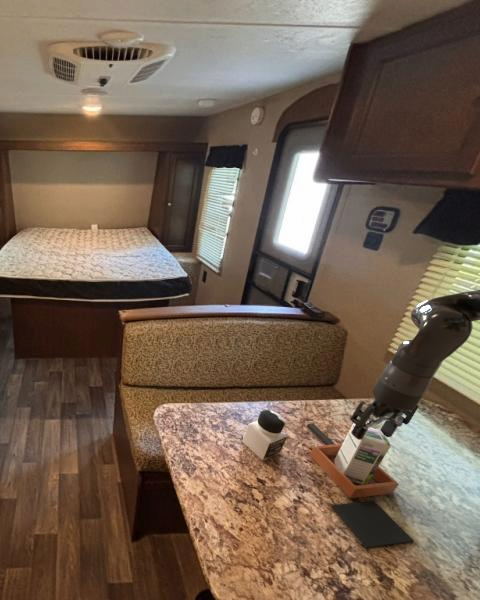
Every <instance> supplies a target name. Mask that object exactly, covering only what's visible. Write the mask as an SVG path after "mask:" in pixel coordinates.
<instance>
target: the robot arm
mask: <svg viewBox="0 0 480 600" xmlns="http://www.w3.org/2000/svg"><path fill="white" fill-rule="evenodd" d="M410 318H411V319H410V320H411V322H412V323H413V324H414V325H415V327H416V328H417V329H418V331H417V333H416V334H415V336H414V337H413V338H412V339H408V340H404V341H402V342H401V343H400V344H399V346H398V347H397V348H396V350H395V353H394V354H393V356H392V358H391V359H390V360H389V362H388V363H387V365H385V367H384V369H383V371H382V372H381V374H380V376H379V378H378V380H377V381H376V383H375V385H374V386H373V389H372V394H373V396H374V399H373V401H372V402H371V403H366V402H365V401H360V402H359V404H357V407H356V408H355V410H354V412H353V413H352V414H351V416H350V418H349V420H350V421H351V422H352V424H353V423H355V424H356V425H355V427H354V428H353V430H352V432H351V433H352V435H353V436H354V437H356V438H357V439H358V440H360V439H362V438H363V437H364V435H365V433H366V432H367V430H368V428H369V427H370V428H372V426H373V425H374V426H375V425H379V424H380V423H382V422H383V421H384V422H383V424H382V426H381V427H380V428H379V429H380V430H381V432H382V433H383V434H384V435H385V437H386V438H391V437H393V435H394V433H395V432H396V431H397V429H398V428H400V427H402V425H403V424H404V425H409V424H410V422H411V420H412V419H413V417H414V415H415V414H416V412H417V410H418V409H419V405H418V404H419V403H420V402H421V400H422V398H423V396H424V395H425V393H426V392H427V390H428V389H429V387H430V385H431V383H432V381H433V378H434V376H435V375H436V374H437V372H438V370H439V369H440V367H441V366H442V364H443V362H444V361H445V360H446V359H448V358H449V357H450V356H451V355H453V354H454V353H455V352H456V351H457V350H458V349H460V348H461V347H462V346H463V345H464V344H466V342H467V341H468V340H469V338H470V336H471V334H472V332H473V326H474V325H473V322H477V321H480V289H478V290H471V291H464V292H459V293H453V294H448V295H442V296H438V297H434V298H431V299H428V300H424V301H423V302H421V303H419V304H418V305H416V306H415V307H414V308H413V309H412V311H411V313H410ZM403 415H405V417H404V416H403ZM372 416H373V417H374V418H373V417H372ZM368 420H369V421H368Z"/></svg>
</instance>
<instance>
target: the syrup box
mask: <svg viewBox="0 0 480 600" xmlns="http://www.w3.org/2000/svg"><path fill="white" fill-rule="evenodd" d="M355 425H356V424H355V423H353V422H352V425H351V427H350V428H349V431H348V432H347V434H346V437H345V439H344V440H343V442H342V443H341V444H342V446H341V448H340V450H339V452H338V454H337V455H335V457H334V459H333V464H334V465H335V466H336V467H337V468H338V469H339V470H340V471H341V472H342V473H343V474H344V475H345V476H346V477H347V478H348V479H349V480H350V481H351V482H352V483H355V484H359V485H368V484H369V483H370V481H371V479H372V478H373V477H372V476H373V474H374V473H375V471H376V469H377V468H378V466H379V467H380V464H381V463H382V461H383V460H384V458H385V457H386V455H387V453H388V452H389V450H390V448H391V444H390V441H389V440H388V439H387V438H388V437H386V436H385V435H384V434H383V433H382V432H381V430H380V429H381V428H373V427H369V428H368V430H367V432H366V433H365V435H364V437H363V438H362V439H360V440H358V439H357V438H356V437H354V436H353V435H352V433H351V432H352V430H353V428H354V427H355Z"/></svg>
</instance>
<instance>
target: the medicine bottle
mask: <svg viewBox="0 0 480 600" xmlns="http://www.w3.org/2000/svg"><path fill="white" fill-rule="evenodd" d="M285 425H286V420H285V419H284V418H283V416H282V415H281V414H279V413H278V412H276V411H273V410H270V409H264V410H261V411H260V413H259V415H258V418H257V420H255V421H252V422H250V423H248V424H247V426H246V430H245V433H244V435H243V438H242V443H243V444H244V445H245V446H246V447H247V448H248V449H249V450H251V451H252V453H254V454H255V455H256V456H257V457H258V458H259V459H260V460H261V461H262V462H263V461H267V460H268V459H271V458H272V457H275V456H277V455H279V454H281V452H282V449H283V447H284V445H285V443H286V441H287V438H288V434H287V433H286V432H285V431H283V430H284V427H285Z"/></svg>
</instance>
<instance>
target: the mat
mask: <svg viewBox="0 0 480 600" xmlns="http://www.w3.org/2000/svg"><path fill="white" fill-rule="evenodd" d="M330 508H331V509H332V510H333V512H335V513H336V514H337V516H338V517H339V518H340V519H341V520H342V522H343V523H344V524H345V525H346V526H347V527H348V529H349V530H350V531H351V532H352V533H353V534H354V536H355V537H356V538H357V539H358V540H359V542H360V543H361V544H362V546H363V547H365V548H366V549H370V548H378V547H384V546H392V545H398V544H404V543H411V542H414V539H413V538H412V537H411V536H410V535H409V534H408V533H407V532H405V530H404V529H403V528H402V527H401V526H400V525H399V524H398V523H397V522H396V521H395V520H394V519H393V518H392V517H391V516H390V515H389V514H388V513H387V512H386V511H385V510H384V509H383V508H382V507H381V506H380V505H379V504H378V503H377V502H376V501H375V500H373V499H372V500H364V501H356V502H348V503H339V504H332V505H330Z"/></svg>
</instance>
